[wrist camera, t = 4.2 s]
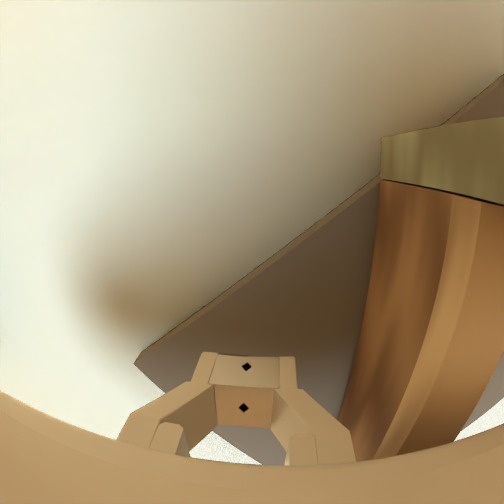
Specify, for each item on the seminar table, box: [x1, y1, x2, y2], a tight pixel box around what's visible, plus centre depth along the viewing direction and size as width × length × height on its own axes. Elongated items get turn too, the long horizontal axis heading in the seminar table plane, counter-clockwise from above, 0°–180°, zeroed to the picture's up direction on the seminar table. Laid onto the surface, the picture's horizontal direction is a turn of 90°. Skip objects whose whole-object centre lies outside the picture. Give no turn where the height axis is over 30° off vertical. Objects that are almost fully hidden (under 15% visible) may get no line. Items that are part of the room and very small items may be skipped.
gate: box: [338, 117, 504, 462], centre depth 8 cm, size 17×2×7 cm, turn 179°
